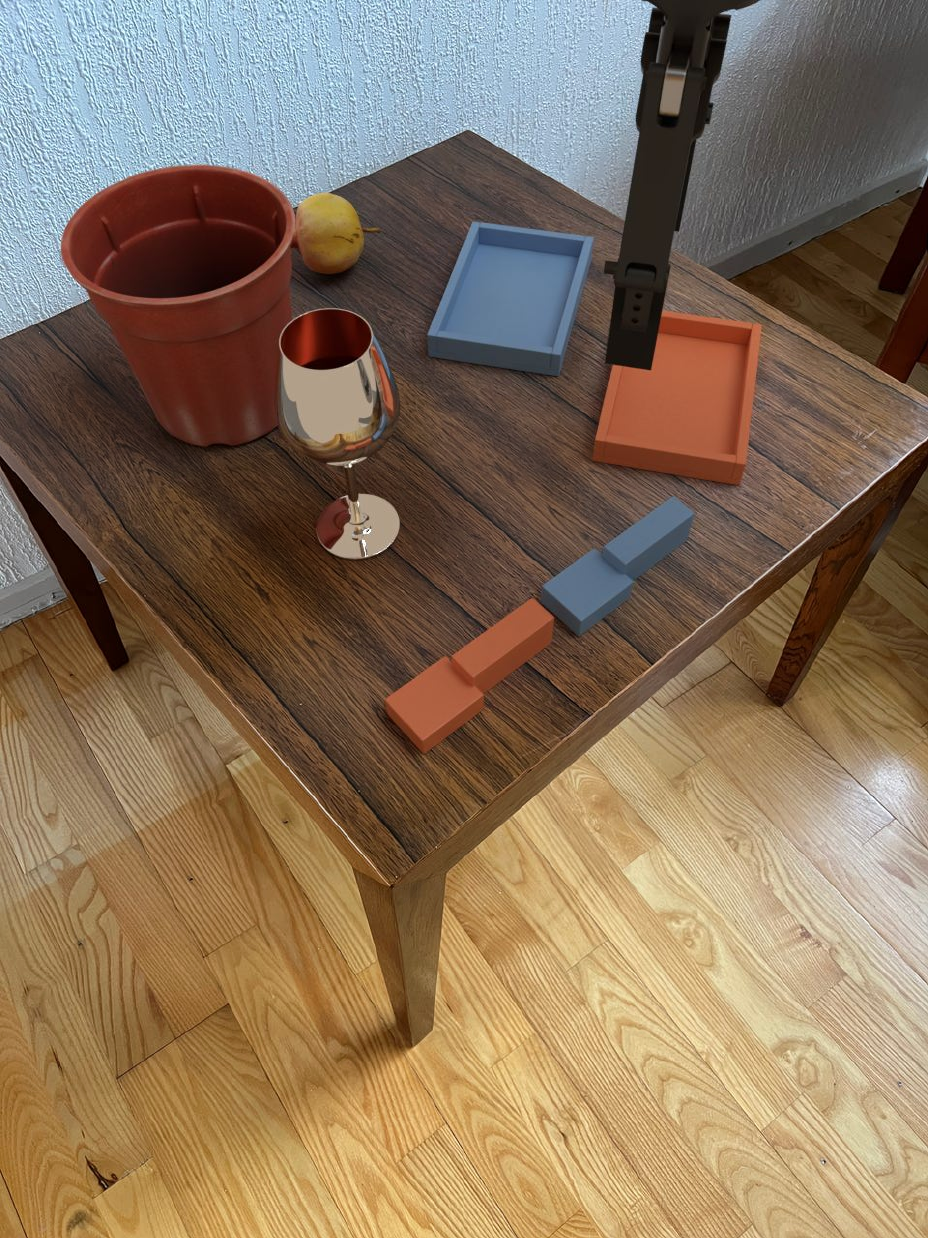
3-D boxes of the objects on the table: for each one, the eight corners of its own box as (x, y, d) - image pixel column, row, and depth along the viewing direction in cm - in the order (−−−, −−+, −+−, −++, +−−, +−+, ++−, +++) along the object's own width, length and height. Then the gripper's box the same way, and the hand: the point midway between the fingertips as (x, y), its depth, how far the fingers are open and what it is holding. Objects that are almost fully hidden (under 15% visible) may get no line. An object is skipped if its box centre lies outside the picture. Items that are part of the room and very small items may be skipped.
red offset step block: (522, 615, 68) (523, 589, 66) (560, 651, 67) (563, 625, 64) (386, 713, 64) (382, 690, 62) (423, 755, 62) (421, 732, 60)
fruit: (371, 176, 89) (263, 190, 88) (382, 200, 84) (268, 215, 83) (379, 249, 94) (277, 264, 93) (391, 276, 89) (283, 292, 87)
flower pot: (330, 330, 86) (302, 159, 73) (320, 466, 77) (286, 298, 63) (146, 336, 86) (84, 166, 73) (115, 473, 77) (37, 307, 63)
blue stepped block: (657, 516, 73) (664, 488, 71) (696, 547, 72) (705, 519, 69) (540, 601, 69) (542, 575, 66) (578, 637, 67) (582, 611, 65)
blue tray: (591, 259, 91) (594, 236, 89) (558, 376, 82) (560, 354, 80) (472, 243, 93) (472, 220, 91) (428, 356, 84) (426, 334, 82)
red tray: (755, 346, 84) (762, 323, 82) (739, 485, 75) (746, 464, 73) (623, 326, 85) (626, 304, 83) (592, 461, 77) (595, 439, 75)
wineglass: (291, 506, 74) (242, 316, 60) (389, 474, 76) (366, 281, 61) (325, 584, 70) (281, 401, 55) (428, 548, 72) (413, 361, 57)
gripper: (663, -221, 49) (616, 170, 67) (577, 6, 36) (546, 420, 53) (812, -212, 48) (724, 183, 66) (781, 26, 35) (681, 442, 52)
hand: (644, 290), depth 60 cm, fingers open, 13 cm apart
